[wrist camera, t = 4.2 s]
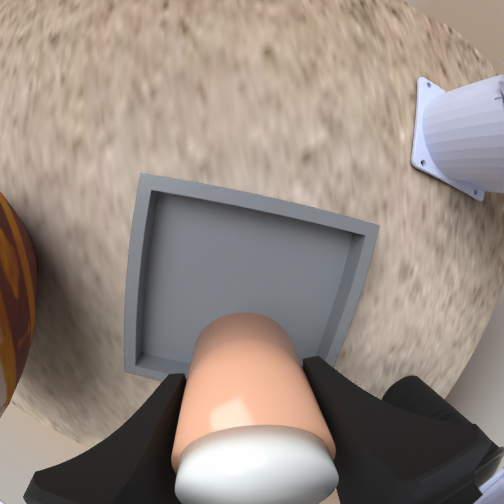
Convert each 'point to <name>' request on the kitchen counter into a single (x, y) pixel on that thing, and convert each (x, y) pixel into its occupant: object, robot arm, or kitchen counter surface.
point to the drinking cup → (439, 417)
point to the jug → (15, 299)
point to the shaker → (250, 420)
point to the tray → (236, 271)
